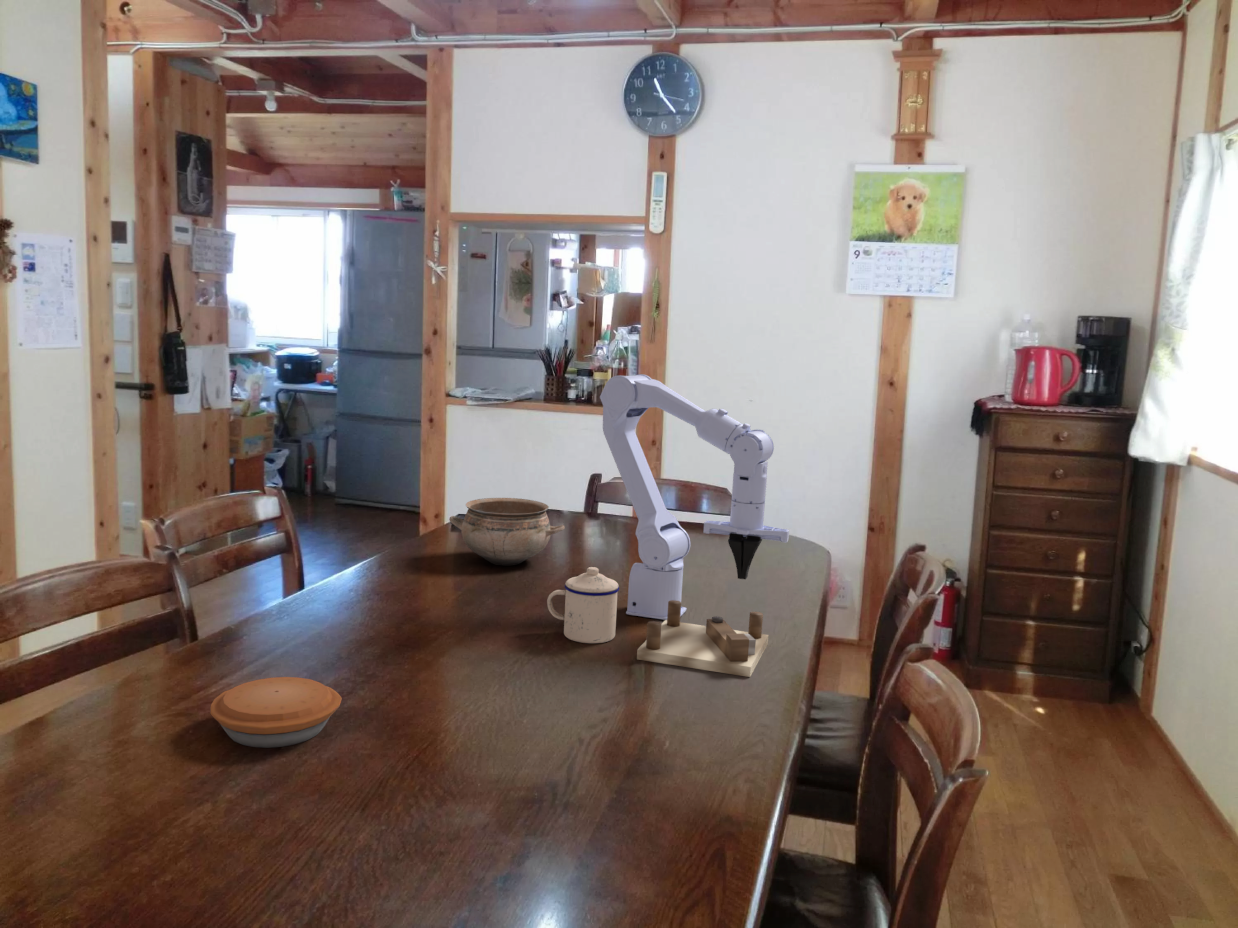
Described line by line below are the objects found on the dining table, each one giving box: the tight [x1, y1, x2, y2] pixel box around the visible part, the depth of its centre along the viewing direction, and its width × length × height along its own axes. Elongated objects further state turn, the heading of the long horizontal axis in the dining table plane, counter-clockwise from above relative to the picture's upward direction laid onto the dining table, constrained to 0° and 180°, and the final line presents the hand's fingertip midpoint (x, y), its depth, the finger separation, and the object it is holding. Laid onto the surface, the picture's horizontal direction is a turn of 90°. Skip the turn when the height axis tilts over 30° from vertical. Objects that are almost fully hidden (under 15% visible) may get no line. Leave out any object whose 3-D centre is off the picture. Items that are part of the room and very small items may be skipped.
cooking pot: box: [449, 497, 566, 566], centre depth 214 cm, size 25×19×12 cm
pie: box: [210, 676, 342, 749], centre depth 126 cm, size 15×16×5 cm
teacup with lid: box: [546, 566, 620, 644], centre depth 168 cm, size 12×9×12 cm
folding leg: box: [705, 615, 749, 661], centre depth 161 cm, size 14×3×4 cm, turn 11°
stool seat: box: [636, 600, 770, 678], centre depth 163 cm, size 18×17×6 cm
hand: (742, 577), depth 175 cm, fingers closed
